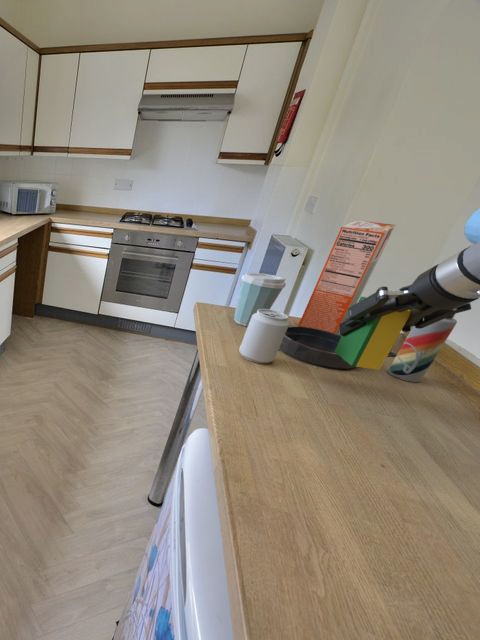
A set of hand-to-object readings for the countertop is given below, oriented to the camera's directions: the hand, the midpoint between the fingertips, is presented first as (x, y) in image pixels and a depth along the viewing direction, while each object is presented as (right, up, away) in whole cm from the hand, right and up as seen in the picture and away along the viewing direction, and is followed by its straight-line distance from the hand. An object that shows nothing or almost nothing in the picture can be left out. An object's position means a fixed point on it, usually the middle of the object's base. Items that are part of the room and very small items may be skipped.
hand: (357, 331), depth 89 cm
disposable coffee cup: (-1, +3, +33) cm, 34 cm away
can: (-13, -6, +13) cm, 19 cm away
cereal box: (+19, +1, +31) cm, 36 cm away
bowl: (+5, -5, +16) cm, 18 cm away
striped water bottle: (+18, -10, +7) cm, 22 cm away
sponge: (-1, -6, -1) cm, 6 cm away
